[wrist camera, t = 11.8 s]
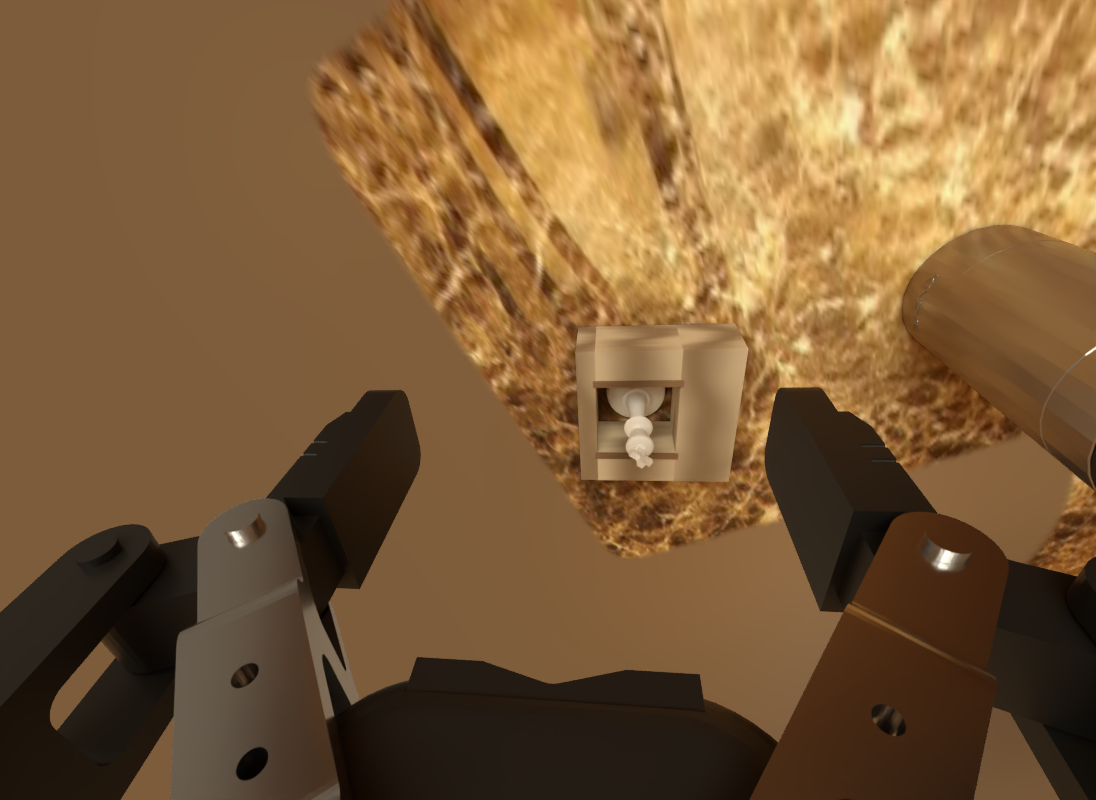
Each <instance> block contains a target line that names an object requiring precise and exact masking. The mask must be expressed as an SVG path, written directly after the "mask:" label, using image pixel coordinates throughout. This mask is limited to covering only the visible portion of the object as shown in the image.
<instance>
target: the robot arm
mask: <svg viewBox="0 0 1096 800" xmlns="http://www.w3.org/2000/svg"><path fill="white" fill-rule="evenodd" d="M902 311H903V320H904V323H905V326H906V329H907V330H908V332H909V333H910V334H911V335H912V337H913V338H914V339H915V340H916V341H918V342H919V343H920V344H921V345H922V346H924V347H925V348H926V349H927V350H928V351H929V352H931V353H932V354H933V355H934V356H935V357H937V358H938V359H939V360H940V361H941V362H942V363H943V364H944V365H946V366H947V367H948V368H949V369H950V370H952V371H953V372H954V373H955V374H956V375H957V376H959V377H960V378H961V379H962V380H963V381H965V382H966V383H967V384H968V385H969V386H971V387H972V388H973V389H974V390H975V391H976V392H978V393H979V394H980V395H981V396H982V397H984V398H985V399H986V400H987V401H988V402H989V403H991V404H992V405H993V406H994V407H995V408H997V409H998V410H999V411H1000V412H1001V413H1002V414H1004V415H1005V416H1006V417H1007V418H1008V419H1010V420H1011V421H1012V422H1013V423H1014V424H1016V425H1017V426H1018V427H1019V428H1020V429H1021V430H1023V431H1024V432H1025V433H1026V434H1027V435H1029V436H1030V437H1031V438H1032V439H1033V440H1035V441H1036V442H1037V443H1038V444H1039V445H1040V446H1042V447H1043V448H1044V449H1045V450H1047V451H1048V452H1049V453H1050V454H1051V455H1052V456H1054V457H1055V458H1056V459H1057V460H1059V461H1060V462H1061V463H1062V464H1063V465H1065V466H1066V467H1067V468H1068V469H1069V470H1070V471H1072V472H1073V473H1074V474H1075V475H1076V476H1078V477H1079V478H1080V479H1081V480H1082V481H1083V482H1085V483H1086V484H1087V485H1088V486H1089V487H1091V488H1092V489H1093V490H1094V491H1095V492H1096V253H1095V252H1092V251H1089V250H1086V249H1083V248H1080V247H1078V246H1075V245H1073V244H1070V243H1067V242H1064V241H1062V240H1059V239H1056V238H1053V237H1050V236H1047V235H1044V234H1042V233H1039V232H1036V231H1033V230H1030V229H1027V228H1024V227H1018V226H1013V225H996V226H990V227H985V228H981V229H976V230H974V231H971V232H969V233H966V234H964V235H961V236H959V237H957V238H956V239H954V240H952V241H950V242H949V243H947V244H945V245H944V246H942V247H941V248H940V249H939V250H937V251H936V252H935V253H934V254H932V255H931V256H930V257H929V258H928V259H927V260H926V261H925V262H924V263H923V264H922V266H921V267H920V268H919V269H918V270H917V272H916V273H915V275H914V276H913V278H912V279H911V281H910V283H909V285H908V288H907V290H906V292H905V295H904V301H903V306H902ZM420 456H421V453H420V445H419V441H418V437H417V433H416V429H415V425H414V421H413V417H412V413H411V410H410V405H409V401H408V398H407V396H406V394H405V393H404V391H402V390H370V391H367V392H366V393H365V394H364V395H363V397H362V398H361V399H360V401H359V402H358V403H357V405H356V406H355V407H354V408H353V409H352V411H351V412H345V413H344V414H342V415H341V416H340V417H338V418H336V419H335V420H333V421H332V422H330V423H329V424H327V425H326V426H325V428H324V429H323V430H322V431H321V432H320V434H319V435H318V436H317V437H316V438H315V440H314V443H311V445H310V446H309V447H308V448H307V449H306V450H305V452H304V456H300V458H299V459H298V460H297V461H296V462H295V464H294V465H293V466H292V467H291V468H290V470H289V471H288V472H287V473H286V474H285V476H284V477H283V478H282V479H281V481H280V482H279V483H278V484H277V485H276V486H275V488H274V489H273V490H272V492H271V493H270V494H269V495H268V496H267V497H266V498H262V499H255V500H250V501H247V502H244V503H241V504H239V505H236V506H234V507H232V508H230V509H228V510H226V511H224V512H223V513H221V514H220V515H218V516H217V517H216V518H214V519H213V520H212V521H211V522H210V523H209V524H208V525H207V526H206V527H205V529H204V530H203V531H202V533H201V535H200V536H198V537H193V538H188V539H184V540H179V541H174V542H169V543H165V544H160V545H159V544H158V542H157V541H156V539H155V538H154V536H153V535H152V533H151V532H150V530H149V529H148V528H146V527H145V526H142V525H135V524H130V525H122V526H118V527H114V528H110V529H108V530H105V531H102V532H100V533H97V534H95V535H93V536H91V537H89V538H87V539H85V540H84V541H82V542H80V543H79V544H77V545H75V546H74V547H73V548H71V549H70V550H68V551H67V552H66V553H65V554H64V555H63V556H61V557H60V558H59V559H58V560H57V561H56V562H55V563H54V564H53V565H52V566H50V567H49V568H48V569H47V570H46V571H45V572H44V573H43V574H42V575H41V576H40V577H38V578H37V579H36V580H35V581H34V582H33V583H32V584H31V585H30V586H29V587H28V588H26V590H24V591H23V592H22V593H21V594H20V595H19V596H18V597H17V598H16V599H14V600H13V601H12V602H11V603H10V604H9V605H8V606H7V607H6V608H5V609H4V610H3V611H1V612H0V800H121V798H122V796H123V795H124V793H125V792H126V790H127V789H128V787H129V785H130V784H131V782H132V781H133V779H134V778H135V776H136V774H137V772H138V771H139V770H140V768H141V766H142V765H143V763H144V762H145V760H146V759H147V757H148V756H149V754H150V752H151V751H152V749H153V748H154V746H155V744H156V743H157V741H158V740H159V738H160V737H161V735H162V734H163V732H164V730H165V729H166V727H167V726H168V724H169V722H170V721H171V719H172V718H173V716H174V720H173V746H172V769H171V794H170V796H171V797H170V800H974V795H975V791H976V786H977V781H978V777H979V772H980V767H981V762H982V757H983V752H984V747H985V743H986V737H987V733H988V728H989V723H990V718H991V713H992V709H993V707H995V708H998V709H1001V710H1004V711H1007V712H1010V713H1011V715H1012V717H1013V719H1014V720H1015V722H1016V724H1017V726H1018V727H1019V729H1020V731H1021V733H1022V734H1023V736H1024V738H1025V740H1026V741H1027V743H1028V745H1029V746H1030V748H1031V750H1032V752H1033V754H1034V755H1035V757H1036V759H1037V761H1038V762H1039V764H1040V766H1041V767H1042V769H1043V771H1044V773H1045V774H1046V776H1047V778H1048V780H1049V782H1050V783H1051V785H1052V787H1053V788H1054V790H1055V792H1056V794H1057V796H1058V797H1059V799H1060V800H1096V557H1094V558H1092V559H1091V560H1089V561H1088V562H1087V564H1086V565H1085V567H1084V568H1083V569H1082V571H1081V572H1080V574H1079V575H1078V576H1073V575H1069V574H1065V573H1061V572H1056V571H1052V570H1048V569H1044V568H1040V567H1036V566H1031V565H1027V564H1023V563H1019V562H1015V561H1012V560H1008V559H1007V558H1006V556H1005V554H1004V553H1003V551H1002V550H1001V549H1000V547H999V546H998V545H997V544H996V543H995V542H994V541H993V540H992V539H990V538H989V537H988V536H987V535H985V534H984V533H982V532H981V531H979V530H978V529H976V528H974V527H972V526H971V525H969V524H967V523H965V522H962V521H960V520H958V519H955V518H952V517H949V516H945V515H941V514H938V513H937V512H936V511H935V509H934V508H933V507H932V506H931V504H930V503H929V502H928V500H927V499H926V498H925V496H923V494H922V492H921V491H920V490H919V489H918V487H917V486H916V485H915V483H914V482H913V480H912V479H911V478H910V476H909V475H908V474H907V473H906V471H905V470H904V469H903V467H902V466H901V465H900V463H896V458H895V457H894V455H893V454H892V453H891V451H890V450H889V449H888V448H885V444H884V442H883V441H882V440H881V438H880V437H879V436H878V434H877V433H876V432H875V430H874V429H873V428H872V426H870V425H869V424H867V423H865V422H864V421H862V420H861V419H859V418H858V417H856V416H855V415H853V414H852V413H850V412H838V411H837V409H836V408H835V407H834V405H833V404H832V402H831V401H830V399H829V398H828V396H827V395H826V394H825V392H824V391H823V390H822V389H821V388H819V387H810V388H780V389H779V390H778V391H777V393H776V396H775V401H774V406H773V411H772V416H771V422H770V427H769V432H768V437H767V443H766V448H765V469H766V474H767V478H768V480H769V483H770V486H771V488H772V491H773V493H774V496H775V498H776V501H777V503H778V506H779V508H780V511H781V513H782V516H783V518H784V521H785V523H786V526H787V528H788V531H789V533H790V536H791V538H792V541H793V543H794V546H795V549H796V551H797V553H798V556H799V559H800V561H801V564H802V566H803V569H804V571H805V574H806V576H807V579H808V581H809V584H810V586H811V589H812V591H813V594H814V596H815V599H816V602H817V604H818V606H819V609H820V611H828V612H829V611H830V612H843V614H842V616H841V618H840V620H839V622H838V624H837V626H836V628H835V630H834V632H833V634H832V636H831V638H830V640H829V642H828V644H827V646H826V648H825V650H824V652H823V654H822V656H821V658H820V660H819V662H818V664H817V666H816V668H815V670H814V672H813V674H812V676H811V678H810V680H809V682H808V684H807V686H806V688H805V690H804V692H803V694H802V696H801V698H800V700H799V702H798V704H797V706H796V708H795V710H794V712H793V714H792V716H791V718H790V720H789V722H788V724H787V726H786V728H785V730H784V732H783V734H782V736H781V738H780V740H779V742H777V741H776V740H775V739H773V738H772V737H771V736H770V735H769V734H767V733H766V732H764V731H763V730H762V729H760V728H759V727H758V726H756V725H755V724H754V723H752V722H751V721H749V720H747V719H746V718H744V717H742V716H741V715H739V714H737V713H736V712H733V711H731V710H730V709H727V708H725V707H723V706H721V705H719V704H717V703H714V702H711V701H708V700H705V699H703V694H702V687H701V680H700V675H699V674H684V673H667V672H651V671H635V670H624V671H619V672H614V673H609V674H604V675H599V676H594V677H589V678H584V679H579V680H574V681H569V682H563V683H558V684H548V683H545V682H541V681H539V680H535V679H533V678H530V677H526V676H524V675H521V674H518V673H515V672H512V671H509V670H507V669H504V668H501V667H498V666H495V665H492V664H489V663H486V662H484V661H472V660H455V659H438V658H423V657H417V659H416V661H415V665H414V667H413V670H412V674H411V676H410V679H409V681H404V682H400V683H397V684H394V685H391V686H388V687H385V688H383V689H381V690H378V691H376V692H374V693H372V694H370V695H368V696H366V697H364V698H363V699H361V700H360V699H359V696H358V694H357V691H356V688H355V685H354V681H353V678H352V675H351V671H350V667H349V663H348V660H347V656H346V652H345V649H344V645H343V641H342V638H341V634H340V631H339V627H338V624H337V620H336V616H335V613H334V609H333V607H332V605H331V602H330V599H331V597H332V595H333V593H334V591H335V590H336V588H350V589H360V587H361V585H362V583H363V581H364V579H365V577H366V575H367V573H368V571H369V569H370V567H371V565H372V563H373V561H374V559H375V557H376V555H377V553H378V551H379V549H380V547H381V545H382V543H383V541H384V539H385V537H386V535H387V533H388V531H389V529H390V527H391V525H392V523H393V521H394V519H395V517H396V514H397V513H398V511H399V509H400V507H401V505H402V503H403V501H404V499H405V497H406V495H407V493H408V491H409V489H410V487H411V485H412V483H413V480H414V479H415V477H416V475H417V472H418V470H419V466H420V458H421V457H420ZM100 641H101V642H102V643H103V644H104V645H105V646H106V647H107V648H108V650H109V651H110V652H111V653H112V654H113V655H114V656H115V657H116V658H115V659H114V661H113V662H112V663H111V664H110V665H109V667H108V668H107V669H106V670H105V672H104V673H103V674H102V675H101V677H100V678H99V679H98V680H97V682H96V683H95V684H94V685H93V687H92V688H91V689H90V690H89V692H88V693H87V694H86V695H85V697H84V698H83V699H82V700H81V702H80V703H79V704H78V705H77V706H76V708H75V709H74V710H73V712H72V713H71V714H70V715H69V717H68V718H67V719H66V720H65V721H64V723H63V724H62V725H61V726H60V728H59V729H58V730H57V731H56V730H55V729H54V728H53V726H52V725H51V722H50V709H51V705H52V702H53V700H54V698H55V696H56V694H57V693H58V691H59V690H60V689H61V687H62V686H63V685H64V684H65V682H66V681H67V680H68V679H69V678H70V676H71V675H72V674H73V673H74V672H75V671H76V670H77V668H78V667H79V666H80V665H81V664H82V663H83V661H84V660H85V659H86V658H87V657H88V655H89V654H90V653H91V652H92V651H93V650H94V648H95V647H96V646H97V645H98V644H99V643H100Z"/></svg>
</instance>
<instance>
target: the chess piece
mask: <svg viewBox="0 0 1096 800" xmlns="http://www.w3.org/2000/svg"><path fill="white" fill-rule="evenodd" d="M606 394H607V398H608V402H609V404H610V406H611V407H612V408H613V409H614V410H615V411H616V412H617V413H619V414H620V415H622V416H625V417H629V418H630V419H628V420H627V421H626V423H625V425H624V431H625V433H626V435H627V436H628V437H629V438H628V440H627V442H626V451H627V453H628V454H629V456H630V457H632V458H633V459H635V460H636V461H637V466H638V467H640V468H643V467H644V466H645V465H646V466H648V467H650V465H651V464H652V463H653V460H652V459H651V458H650V457H648V456H649V455H650V454H651V453H652V452H653V450H654V443H653V441H652V439H651V438H650V437H649V436H650V434H651V432H652V430H653V425H652V423H651V421H650V420H649V419H647V418H646V416H648V415H650V414H652V413H654V412H655V411H656V410H657V409H658V408H659V407H660V406H661V404H662V403H663V400H664V397H665V387H636V388H606Z"/></svg>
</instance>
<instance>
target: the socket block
mask: <svg viewBox="0 0 1096 800" xmlns="http://www.w3.org/2000/svg"><path fill="white" fill-rule="evenodd" d="M575 356H576V376H577V397H578V417H579V438H580V459H581V479H582V480H635V481H705V482H729V476H730V469H731V462H732V456H733V449H734V442H735V436H736V429H737V422H738V416H739V409H740V402H741V396H742V389H743V382H744V376H745V369H746V362H747V356H748V347H747V346H746V344H745V342H744V340H743V338H742V336H741V334H740V332H739V330H738V328H737V326H736V324H735V323H726V324H685V325H643V326H602V327H579V328H578V336H577V344H576V351H575ZM636 387H672V398H671V413H670V421H651V423H652V425H653V430H652V432H651V434H650V436H649V437H650V438H651V439H652V441H653V443H654V450H653V452H652V453H651V454H650V455H649V456H648V457H650V458H651V459H652V460H653V463H652V464H651V465H650V467H648V466H646V465H645V466H644V467H643V468H640V467H638V466H637V461H636V460H635V459H633V458H632V457H630V456H629V454H628V453H627V451H626V442H627V440H628V438H629V437H628V436H627V435H626V433H625V431H624V425H625V423H626V421H599V419H598V388H636Z"/></svg>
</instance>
